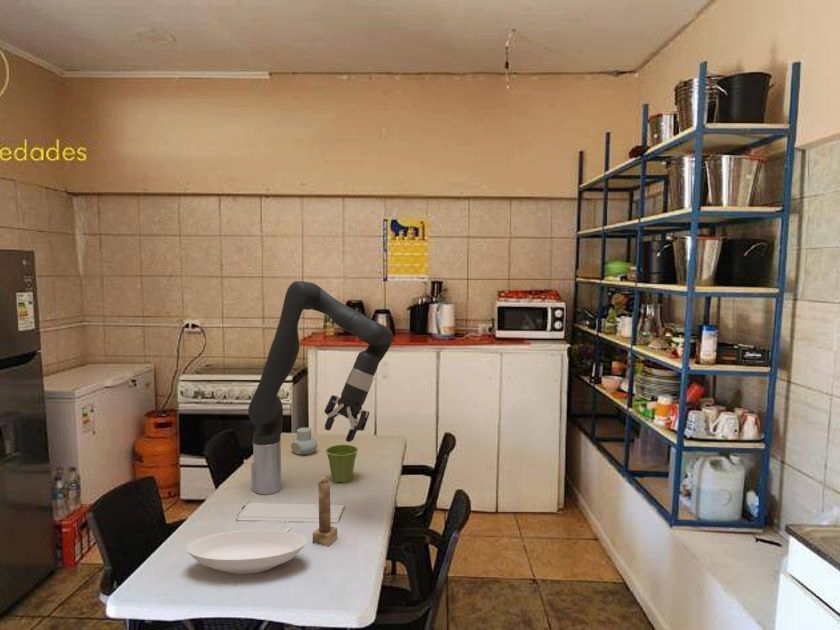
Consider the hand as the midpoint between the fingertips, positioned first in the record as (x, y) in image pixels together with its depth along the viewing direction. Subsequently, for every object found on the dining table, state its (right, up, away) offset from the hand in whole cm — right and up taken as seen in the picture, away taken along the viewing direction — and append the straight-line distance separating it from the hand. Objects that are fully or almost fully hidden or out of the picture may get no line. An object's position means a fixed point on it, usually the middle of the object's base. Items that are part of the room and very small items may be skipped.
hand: (337, 435), depth 161 cm
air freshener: (-24, -22, +63) cm, 70 cm away
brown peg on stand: (-2, -27, -10) cm, 29 cm away
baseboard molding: (-15, -27, +5) cm, 31 cm away
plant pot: (-3, -24, +34) cm, 42 cm away
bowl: (-19, -29, -24) cm, 42 cm away
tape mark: (-15, -27, -6) cm, 31 cm away
